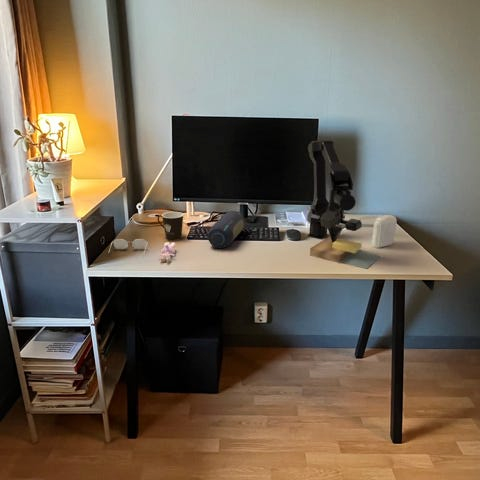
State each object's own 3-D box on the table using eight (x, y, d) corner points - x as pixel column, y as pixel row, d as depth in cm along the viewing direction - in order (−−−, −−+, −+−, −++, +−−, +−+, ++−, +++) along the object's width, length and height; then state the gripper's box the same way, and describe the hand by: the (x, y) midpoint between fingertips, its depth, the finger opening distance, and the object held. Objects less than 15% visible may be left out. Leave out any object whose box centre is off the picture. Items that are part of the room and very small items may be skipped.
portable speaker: (229, 252, 179) (229, 227, 175) (205, 249, 181) (204, 225, 178) (247, 231, 201) (247, 209, 198) (225, 229, 204) (225, 207, 200)
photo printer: (386, 241, 191) (390, 212, 186) (395, 244, 187) (399, 214, 183) (369, 245, 185) (372, 216, 181) (378, 249, 182) (381, 219, 178)
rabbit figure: (173, 267, 168) (179, 246, 181) (172, 253, 165) (178, 233, 178) (156, 267, 168) (163, 246, 181) (154, 253, 165) (162, 233, 178)
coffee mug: (187, 238, 192) (187, 215, 188) (168, 242, 187) (167, 219, 184) (175, 231, 201) (174, 208, 197) (156, 234, 196) (155, 212, 193)
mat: (340, 262, 169) (340, 261, 169) (355, 250, 180) (356, 250, 180) (366, 268, 164) (366, 268, 164) (381, 256, 174) (381, 256, 174)
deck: (310, 255, 175) (310, 248, 174) (328, 243, 187) (329, 236, 186) (339, 263, 169) (339, 255, 168) (357, 250, 181) (357, 242, 180)
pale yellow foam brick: (332, 247, 174) (332, 242, 174) (338, 243, 179) (339, 238, 178) (355, 253, 170) (355, 248, 169) (361, 248, 174) (361, 243, 174)
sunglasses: (148, 250, 181) (147, 239, 178) (145, 261, 174) (143, 250, 171) (113, 250, 181) (111, 238, 178) (107, 261, 174) (106, 250, 171)
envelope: (383, 228, 207) (376, 219, 220) (383, 224, 206) (377, 215, 219) (329, 226, 208) (325, 217, 221) (329, 222, 207) (325, 213, 220)
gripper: (303, 203, 171) (301, 243, 176) (351, 212, 160) (347, 254, 165) (318, 197, 179) (315, 235, 184) (364, 205, 168) (360, 245, 174)
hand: (333, 242), depth 177 cm, fingers closed
